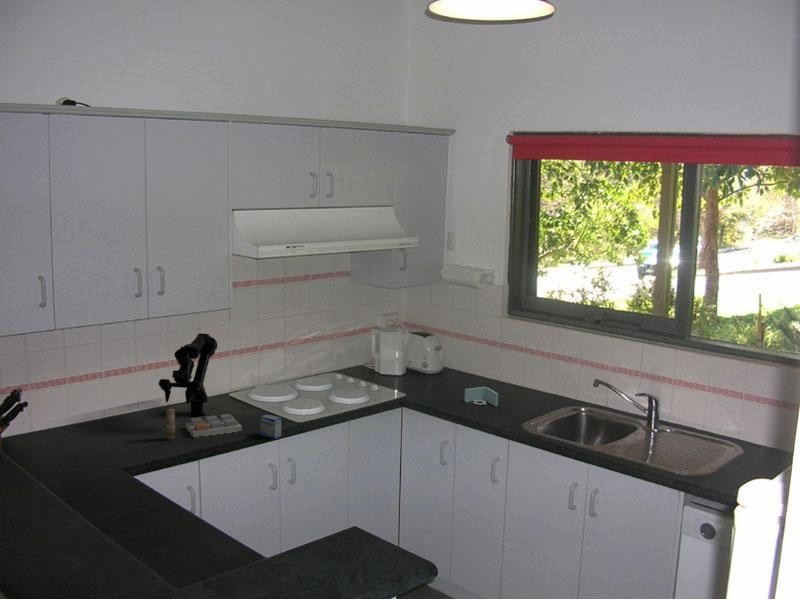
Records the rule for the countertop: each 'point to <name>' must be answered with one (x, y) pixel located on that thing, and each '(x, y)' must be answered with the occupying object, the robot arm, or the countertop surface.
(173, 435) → the tan banded cylinder
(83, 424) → the countertop surface
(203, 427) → the terracotta key
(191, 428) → the keypad
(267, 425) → the medicine box
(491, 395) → the l-shaped corner panel
